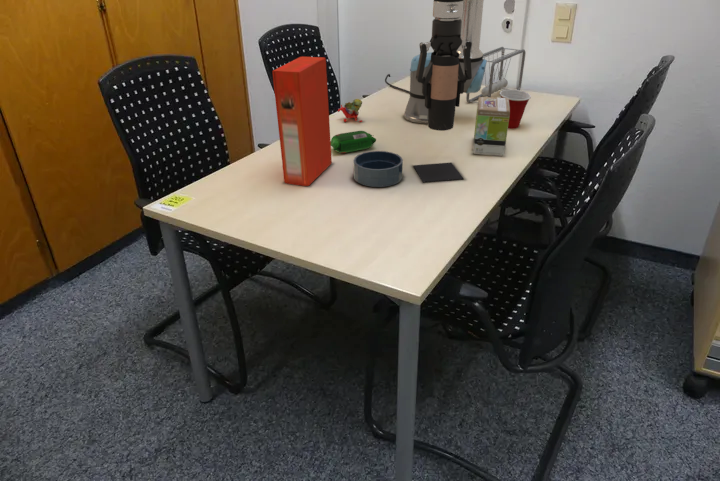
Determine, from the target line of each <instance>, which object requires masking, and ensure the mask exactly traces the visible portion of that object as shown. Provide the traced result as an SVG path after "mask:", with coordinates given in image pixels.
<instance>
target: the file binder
mask: <svg viewBox="0 0 720 481" xmlns="http://www.w3.org/2000/svg"><path fill="white" fill-rule="evenodd" d="M326 60H327V59H326V57H321V56H299V57H297V58H294V59H293V60H291V61H289V62H288V63H285V64H283V65H281V66H279V67H277V68H275V69H274V70H272V82H273V89H274V90H273V91H274V100H275V108H276V117H277V126H278V127H277V128H278V135H279V136H278V137H279V145H280V154H281V156H280V157H281V164H282V173H283V181H284V184H289V185H295V186H302V187H308V186H310V185H311V184H312V183H313V182H314V181H315V180H317V179H318V177H319V176H321V174H323V172H324V171H325V170H327V168H329V167H330V166H331V165H332V163H333V160H332V146H331V125H330V111H329V110H330V109H329V92H328V90H329V89H328V74H327V73H328V72H327V61H326Z"/></svg>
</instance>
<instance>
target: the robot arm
mask: <svg viewBox="0 0 720 481" xmlns="http://www.w3.org/2000/svg"><path fill="white" fill-rule="evenodd" d="M484 1H485V0H433V2H432V5H433V7H432V17H433V19H432V22H431V38H430V40H429V41H427V42H420V43H419V51H420V52H419V54H417V55H415V56H413V57H412V58H411V61H410V69H409V72H410V74H409V76H410V77H409V78H410V79H409V90H407V89H404V88H402V87H398V86H396V85H392V84H390V83H389V82H388V77H389V78H390V77H391V73H387V74H386V76H385V79H384V82H385V84H386V85H387V86H389V87H391V88H393V89H397V90H400V91H403V92H405V93H408V94H409V99H408V101H407V104H406V106H405V110H404V116H403V117H404V119H405V120H406V121H409V122H411V123H415V124H422V125H423V124H427V125H428V109H430V95H431V84H430V83H429V80H430V78H431V76H432V70H433V62H432V63H431V53H432V52H433V54H432V55H435V56H445V55H450V56H454V57H455V58H457V57H458V54H457V52H458V53H459V68H458V83H457V97H456V107H455V108H459V107H460V101H461V95H463V94H464V93H465V94H467V93H470V94H476V93H479V92H480V90H481V89H482V87H481V86H482V84H483V80H484V78H485V73H486V68H487V63H488V62H487V61H488V60H487V59H486V58H485V59H484V58H483V54H484V52H482V51H481V50H480V47H481V46H480V45H481V44H480V43H481V33H482V23H483V12H484ZM430 47H431V49H432V50H433V51H432V52H431V51H430V52H429V50H430Z"/></svg>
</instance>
